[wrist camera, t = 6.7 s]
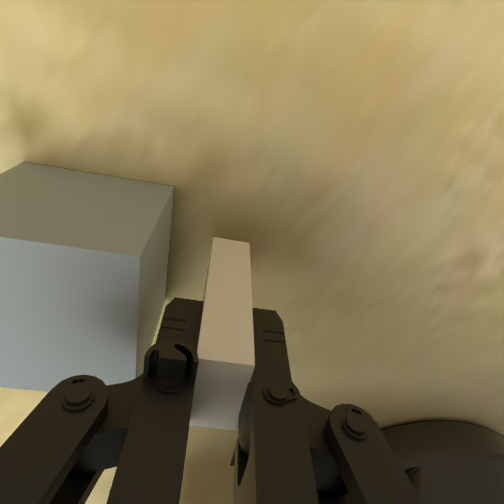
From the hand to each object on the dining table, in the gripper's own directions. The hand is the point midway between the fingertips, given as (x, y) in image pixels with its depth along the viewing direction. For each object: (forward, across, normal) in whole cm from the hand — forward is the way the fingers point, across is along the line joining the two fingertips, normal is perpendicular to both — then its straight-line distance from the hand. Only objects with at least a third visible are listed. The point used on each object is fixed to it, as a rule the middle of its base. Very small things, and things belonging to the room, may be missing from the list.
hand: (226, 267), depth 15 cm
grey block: (+2, +6, 0) cm, 6 cm away
